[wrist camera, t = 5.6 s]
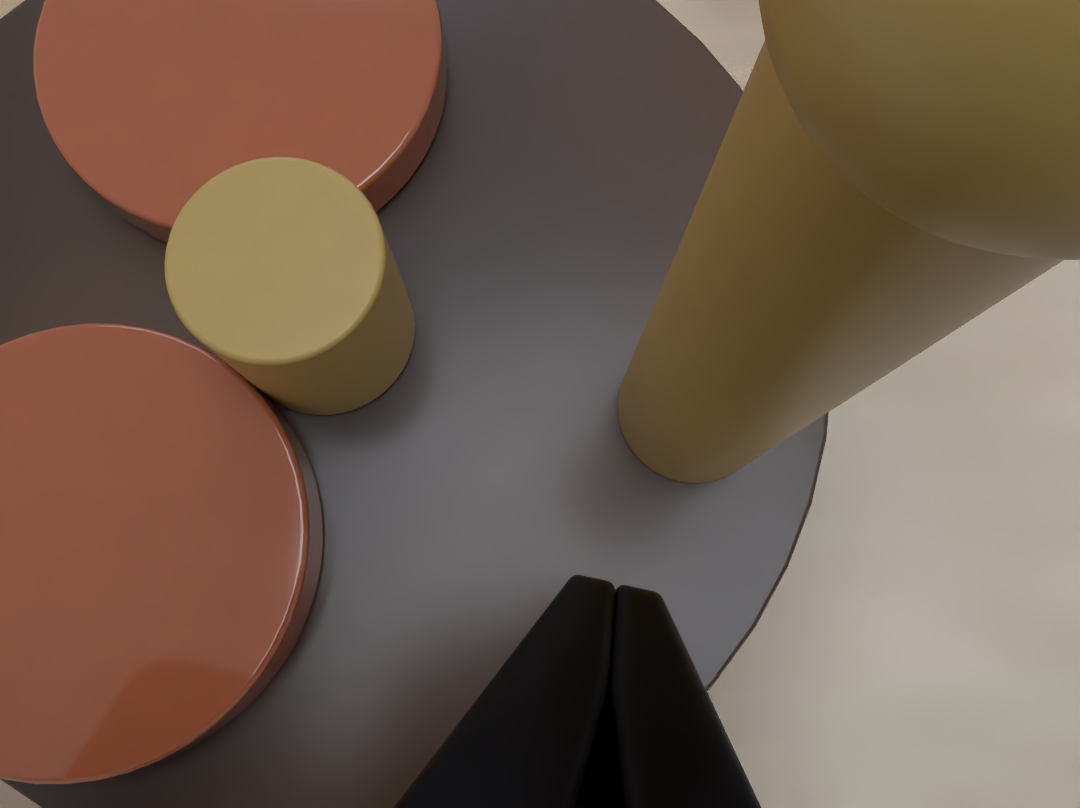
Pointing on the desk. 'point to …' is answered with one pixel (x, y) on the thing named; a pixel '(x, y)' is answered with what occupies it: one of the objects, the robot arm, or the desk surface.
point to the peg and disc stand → (451, 343)
